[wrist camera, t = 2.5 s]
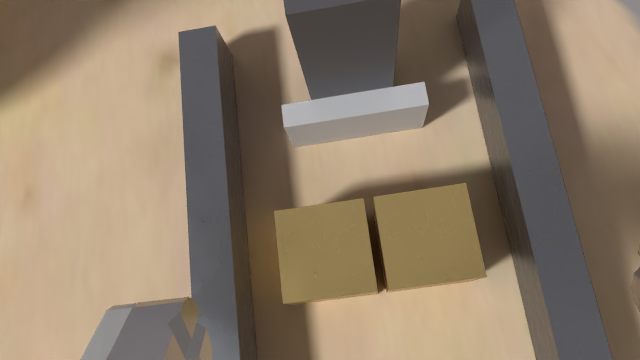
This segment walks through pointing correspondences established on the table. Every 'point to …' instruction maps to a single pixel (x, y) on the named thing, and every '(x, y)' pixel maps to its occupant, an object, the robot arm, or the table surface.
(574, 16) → the table surface
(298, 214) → the brown wooden cube
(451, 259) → the wooden block
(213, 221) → the slot jig
